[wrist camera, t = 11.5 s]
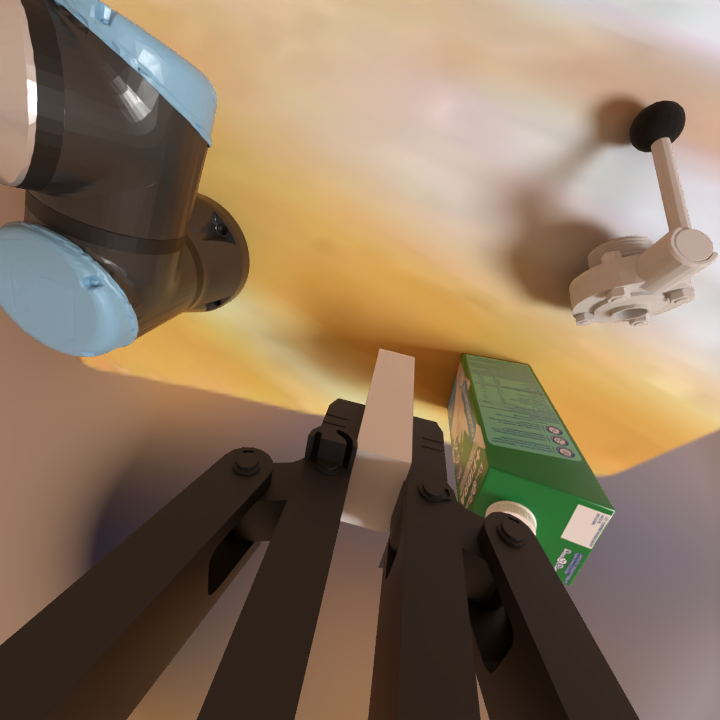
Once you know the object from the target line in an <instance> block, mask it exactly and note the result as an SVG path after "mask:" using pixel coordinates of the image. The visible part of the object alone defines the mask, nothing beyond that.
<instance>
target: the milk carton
mask: <svg viewBox="0 0 720 720" xmlns="http://www.w3.org/2000/svg"><path fill="white" fill-rule="evenodd" d="M447 410H448V419H449V428H450V436H451V445H452V453H453V462H454V471H455V479H456V489H457V496H458V502H459V503H460V504H461V505H462V506H463V507H465V508H467V509H468V510H470V511H472V512H473V513H475V514H477V515H479V516H481V517H483V518H486V516H488V515H489V514H490V513H492V512H504V513H509V514H511V515H513V516H515V517H517V518H519V519H520V520H521V521H523V522H524V523H525V524H526V525H527V526H529V528H530V529H531V530H532V532H533V533H534V534H535V536H536V538H537V539H538V541H539V543H540V545H541V546H542V548H543V550H544V552H545V554H546V555H547V557H548V559H549V561H550V562H551V564H552V566H553V568H554V569H555V571H556V573H557V575H558V577H559V578H560V580H561V582H562V583H565V584H567V585H569V586H571V584H572V583H573V581H574V579H575V578H576V576H577V574H578V573H579V570H580V569H581V567H582V566H583V564H584V562H585V561H586V559H587V557H588V556H589V554H590V552H591V551H592V549H593V547H594V546H595V544H596V542H597V541H598V539H599V537H600V536H601V534H602V532H603V531H604V529H605V527H606V526H607V524H608V522H609V521H610V519H611V517H612V516H613V514H614V512H615V509H614V507H613V506H612V504H611V502H610V500H609V499H608V497H607V495H606V494H605V492H604V490H603V489H602V487H601V485H600V483H599V482H598V480H597V478H596V477H595V475H594V473H593V472H592V470H591V468H590V466H589V465H588V463H587V461H586V460H585V458H584V456H583V455H582V453H581V451H580V450H579V448H578V446H577V444H576V443H575V441H574V439H573V438H572V436H571V434H570V433H569V431H568V429H567V427H566V426H565V424H564V422H563V421H562V419H561V417H560V416H559V414H558V412H557V410H556V409H555V407H554V405H553V404H552V402H551V400H550V399H549V397H548V395H547V394H546V392H545V390H544V388H543V387H542V385H541V383H540V382H539V380H538V378H537V377H536V375H535V373H534V371H533V370H532V368H531V366H530V365H526V364H520V363H515V362H509V361H503V360H498V359H492V358H486V357H481V356H475V355H469V354H464V353H463V354H462V357H461V360H460V364H459V368H458V371H457V375H456V379H455V382H454V386H453V389H452V393H451V397H450V400H449V404H448V407H447Z"/></svg>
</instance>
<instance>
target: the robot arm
mask: <svg viewBox="0 0 720 720" xmlns="http://www.w3.org/2000/svg"><path fill="white" fill-rule="evenodd" d="M216 107H217V98H216V93H215V90H214V88H213V86H212V84H211V82H210V81H209V80H208V78H207V77H206V76H205V75H204V74H203V73H202V72H201V71H200V70H198V69H197V68H196V67H195V66H193V65H192V64H191V63H189V62H188V61H187V60H186V59H184V58H183V57H181V56H180V55H179V54H177V53H176V52H175V51H173V50H172V49H171V48H169V47H168V46H166V45H165V44H164V43H162V42H161V41H159V40H158V39H157V38H155V37H154V36H152V35H151V34H149V33H148V32H146V31H145V30H144V29H142V28H141V27H139V26H138V25H136V24H135V23H133V22H132V21H130V20H129V19H127V18H126V17H124V16H123V15H121V14H120V13H118V12H116V11H113V10H112V9H111V8H110V7H109V6H107V5H106V4H104V3H103V2H101V1H100V0H0V183H1V184H4V185H7V186H11V187H17V188H22V189H26V196H25V217H24V221H23V222H21V221H17V222H9V223H6V224H4V225H3V226H2V227H1V228H0V306H1V308H2V309H3V310H4V311H5V312H6V313H8V315H9V316H10V317H11V318H12V320H13V321H14V322H15V323H16V324H17V325H18V326H19V327H20V328H21V329H22V330H24V331H25V332H26V333H27V334H28V335H30V336H31V337H33V338H34V339H36V340H37V341H39V342H40V343H42V344H44V345H46V346H47V347H50V348H52V349H54V350H56V351H59V352H62V353H65V354H68V355H73V356H79V357H93V356H99V355H102V354H105V353H108V352H110V351H112V350H114V349H116V348H119V347H125V346H127V345H129V344H131V343H132V342H133V341H134V340H135V339H137V338H139V337H140V336H142V335H144V334H145V333H147V332H149V331H151V330H152V329H154V328H156V327H158V326H159V325H161V324H163V323H165V322H167V321H168V320H170V319H172V318H174V317H175V316H177V315H179V314H181V313H182V312H207V311H212V310H215V309H217V308H220V307H222V306H223V305H225V304H227V303H228V302H230V301H231V300H233V299H234V298H235V297H236V296H237V295H238V294H239V293H240V292H241V290H242V289H243V287H244V285H245V283H246V280H247V277H248V273H249V251H248V247H247V243H246V240H245V237H244V235H243V233H242V231H241V229H240V227H239V225H238V224H237V222H236V221H235V220H234V218H233V217H232V216H231V215H230V213H229V212H228V211H227V210H226V209H224V208H223V207H222V206H221V205H220V204H218V203H217V202H216V201H214V200H212V199H211V198H209V197H207V196H204V195H202V194H199V193H197V191H198V187H199V183H200V178H201V174H202V170H203V166H204V162H205V158H206V154H207V150H208V148H211V146H212V140H211V133H212V128H213V123H214V118H215V113H216ZM414 369H415V357H412V356H408V355H404V354H400V353H396V352H392V351H388V350H384V349H379V353H378V357H377V361H376V365H375V369H374V373H373V377H372V381H371V385H370V389H369V393H368V397H367V401H366V405H363V404H359V403H355V402H351V401H347V400H343V399H339V398H338V399H337V400H336V401H334V402H333V403H331V404H330V405H329V408H328V410H327V413H326V415H325V418H324V420H323V423H322V425H321V426H319V427H317V428H315V429H313V430H312V431H311V433H310V434H309V435H308V441H307V447H306V452H305V458H303V459H301V460H299V461H295V462H292V463H273V461H272V459H271V458H270V456H269V455H268V454H267V453H265V452H264V451H262V450H260V449H256V448H245V447H243V448H239V449H235V450H233V451H231V452H229V453H228V454H226V455H224V456H223V457H222V458H221V459H220V460H218V461H217V462H216V463H215V464H214V465H213V466H211V467H210V468H209V469H208V470H207V471H205V472H204V473H203V474H202V475H201V476H200V477H198V478H197V479H196V480H195V481H194V482H193V483H191V484H190V485H189V486H188V487H187V488H185V489H184V490H183V491H182V492H181V493H180V494H178V495H177V496H176V497H175V498H174V499H172V500H171V501H170V502H169V503H168V504H167V505H165V506H164V507H163V508H162V509H161V510H160V511H158V512H157V513H156V514H155V515H154V516H153V517H151V518H150V519H149V520H148V521H147V522H145V523H144V524H143V525H142V526H141V527H139V528H138V529H137V530H136V531H135V532H134V533H132V534H131V535H130V536H129V537H128V538H127V539H125V540H124V541H123V542H122V543H121V544H119V545H118V546H117V547H116V548H115V549H114V550H113V551H111V552H110V553H109V554H108V555H107V556H106V557H104V558H103V559H102V560H101V561H99V562H98V563H97V564H96V565H95V566H94V567H92V568H91V569H90V570H89V571H88V572H86V573H85V574H84V575H83V576H82V577H81V578H80V579H78V580H77V581H76V582H75V583H73V584H72V585H71V586H70V587H69V588H68V589H66V590H65V591H64V592H63V593H62V594H61V595H59V596H58V597H57V598H56V599H55V600H54V601H52V602H51V603H50V604H49V605H48V606H46V607H45V608H44V609H43V610H42V611H41V612H39V613H38V614H37V615H36V616H35V617H33V618H32V619H31V620H30V621H29V622H28V623H26V624H25V625H24V626H23V627H22V628H21V629H19V631H17V632H16V633H15V634H13V635H12V636H11V637H10V638H9V639H7V640H6V641H5V642H4V643H3V644H2V645H1V646H0V720H126V719H127V718H128V717H129V715H130V714H131V713H132V712H133V710H134V709H135V708H136V706H137V705H138V704H139V702H140V701H141V700H142V698H143V697H144V696H145V695H146V693H147V692H148V690H149V689H150V688H151V687H152V685H153V684H154V683H155V681H156V680H157V679H158V678H159V676H160V675H161V674H162V672H163V671H164V670H165V668H166V667H167V666H168V665H169V663H170V662H171V661H172V659H173V658H174V657H175V655H176V654H177V653H178V651H179V650H180V649H181V647H182V646H183V645H184V644H185V642H186V641H187V639H188V638H189V637H190V636H191V634H192V633H193V632H194V631H195V629H196V628H197V627H198V625H199V624H200V622H201V621H202V620H203V619H204V617H205V616H206V615H207V614H208V612H209V611H210V610H211V608H212V607H213V606H214V604H215V603H216V602H217V600H218V599H219V598H220V597H221V595H222V594H223V592H224V591H225V590H226V589H227V587H228V586H229V585H230V583H231V582H232V581H233V580H234V578H235V577H236V576H237V574H238V573H239V572H240V570H241V569H242V568H243V566H244V565H245V564H246V563H247V561H248V560H249V559H250V557H251V556H252V554H253V553H254V552H255V551H256V549H257V548H258V547H259V546H260V544H261V542H262V541H270V543H269V546H268V548H267V551H266V553H265V555H264V558H263V560H262V563H261V565H260V568H259V570H258V573H257V575H256V578H255V580H254V582H253V585H252V587H251V590H250V592H249V594H248V597H247V599H246V602H245V604H244V606H243V609H242V611H241V614H240V616H239V619H238V621H237V623H236V626H235V628H234V631H233V633H232V636H231V638H230V641H229V643H228V645H227V648H226V650H225V652H224V655H223V658H222V660H221V662H220V665H219V667H218V669H217V672H216V674H215V677H214V679H213V682H212V684H211V687H210V689H209V691H208V694H207V696H206V699H205V701H204V704H203V706H202V709H201V711H200V713H199V716H198V718H197V720H294V719H295V714H296V710H297V705H298V701H299V697H300V693H301V689H302V684H303V680H304V676H305V671H306V666H307V663H308V658H309V654H310V649H311V645H312V641H313V637H314V632H315V628H316V624H317V619H318V615H319V611H320V606H321V602H322V598H323V593H324V589H325V585H326V580H327V576H328V571H329V568H330V563H331V559H332V555H333V550H334V546H335V541H336V537H337V533H338V529H339V524H340V521H343V522H347V523H350V524H354V525H358V526H361V527H365V528H369V529H373V530H376V531H380V532H384V533H387V532H388V529H389V526H390V536H389V540H388V542H387V545H386V548H385V551H384V554H383V557H382V560H381V562H380V565H379V568H383V575H382V585H381V595H380V605H379V615H378V625H377V635H376V646H375V655H374V666H373V676H372V687H371V697H370V706H369V716H368V720H480V710H479V701H478V693H477V683H476V676H477V679H478V682H479V685H480V689H481V692H482V695H483V699H484V702H485V706H486V709H487V712H488V716H489V719H490V720H639V718H638V716H637V714H636V713H635V711H634V709H633V707H632V706H631V704H630V702H629V700H628V699H627V697H626V695H625V693H624V691H623V690H622V688H621V686H620V684H619V683H618V681H617V679H616V677H615V676H614V674H613V672H612V670H611V668H610V667H609V665H608V663H607V661H606V660H605V658H604V656H603V655H602V653H601V651H600V649H599V647H598V645H597V644H596V642H595V640H594V638H593V637H592V635H591V633H590V631H589V630H588V628H587V626H586V624H585V623H584V621H583V619H582V617H581V616H580V614H579V612H578V610H577V608H576V607H575V605H574V603H573V601H572V600H571V598H570V596H569V594H568V592H567V591H566V589H565V587H564V585H563V584H562V582H561V580H560V578H559V577H558V575H557V573H556V571H555V569H554V568H553V566H552V564H551V562H550V561H549V559H548V557H547V555H546V554H545V552H544V550H543V548H542V546H541V545H540V543H539V541H538V539H537V538H536V536H535V534H534V533H533V532H532V530H531V529H530V528H529V526H527V525H526V524H525V523H524V522H523V521H521V520H520V519H519V518H517V517H515V516H513V515H511V514H509V513H504V512H492V513H490V514H489V515H488V516H486V518H483V517H481V516H479V515H477V514H475V513H473V512H472V511H470V510H468V509H467V508H465V507H463V506H462V505H461V504H460V503H459V502H457V500H456V496H455V493H454V491H453V490H452V488H451V487H450V486H449V485H448V483H447V472H446V461H445V453H444V451H445V450H444V445H443V444H444V439H443V432H442V430H441V429H440V427H439V426H438V424H437V422H433V421H430V420H426V419H422V418H418V417H414V416H413V402H414ZM390 524H391V525H390ZM475 672H476V674H475Z"/></svg>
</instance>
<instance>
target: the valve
mask: <svg viewBox="0 0 720 720" xmlns="http://www.w3.org/2000/svg"><path fill="white" fill-rule="evenodd" d="M685 119H686V118H685V112H684V109H683V108H682V107H681V106H680V105H679V104H678V103H676V102H673V101H660V102H656V103H654V104H652V105H650V106H648V107H646V108H645V109H644V110H642V111H641V112H640V113H639V114H638V115H637V117H636V118H635V119H634V121H633V123H632V126H631V128H630V140H631V143H632V145H633V146H634V147H635V148H636V149H638V150H639V151H643V152H652V155H653V160H654V164H655V169H656V173H657V178H658V182H659V187H660V191H661V196H662V200H663V205H664V209H665V214H666V218H667V223H668V227H669V232H668V233H667V234H666V235H665V236H663V237H662V238H661V239H660V240H658V241H657V242H656V243H655V244H654V242H653V241H652V240H650V239H648V238H647V237H646V236H637V235H634V236H626V237H619V238H616V239H612V240H610V241H607V242H604V243H603V244H601V245H599V246H597V247H596V248H594V249H593V250H592V251H591V252H590V253H589V255H588V258H587V260H588V266H589V270H587V271H585V272H584V273H582V274H580V275H579V276H578V277H576V278H575V279H574V280H573V281H572V282H571V284H570V286H569V293H570V300H571V308H572V314H573V316H574V317H575V318H576V323H577V325H589V324H591V323H616V322H625V321H629V324H630V325H631V326H643V325H646V324H648V323H650V322H651V317H650V316H654V315H658V314H661V313H664V312H667V311H669V310H672V309H674V308H676V307H678V306H680V305H682V304H684V303H687V302H690V301H692V300H693V299H694V297H695V295H694V287H693V284H692V280H691V276H693V275H694V274H696V273H697V272H699V271H701V270H702V269H704V268H706V267H707V266H709V265H710V264H712V263H713V262H714V261H716V259H717V257H718V253H716V252H714V253H713V244H712V241H711V240H710V238H709V237H708V236H707V235H705V234H704V233H702V232H701V231H698V230H695V229H692V228H691V224H690V219H689V215H688V211H687V207H686V203H685V199H684V195H683V191H682V186H681V182H680V178H679V174H678V170H677V166H676V162H675V158H674V153H673V149H672V145H671V143H673V142H674V141H675V140H676V139H677V138H678V136H679V135H680V134H681V132H682V130H683V128H684V125H685ZM712 253H713V254H712Z"/></svg>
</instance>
